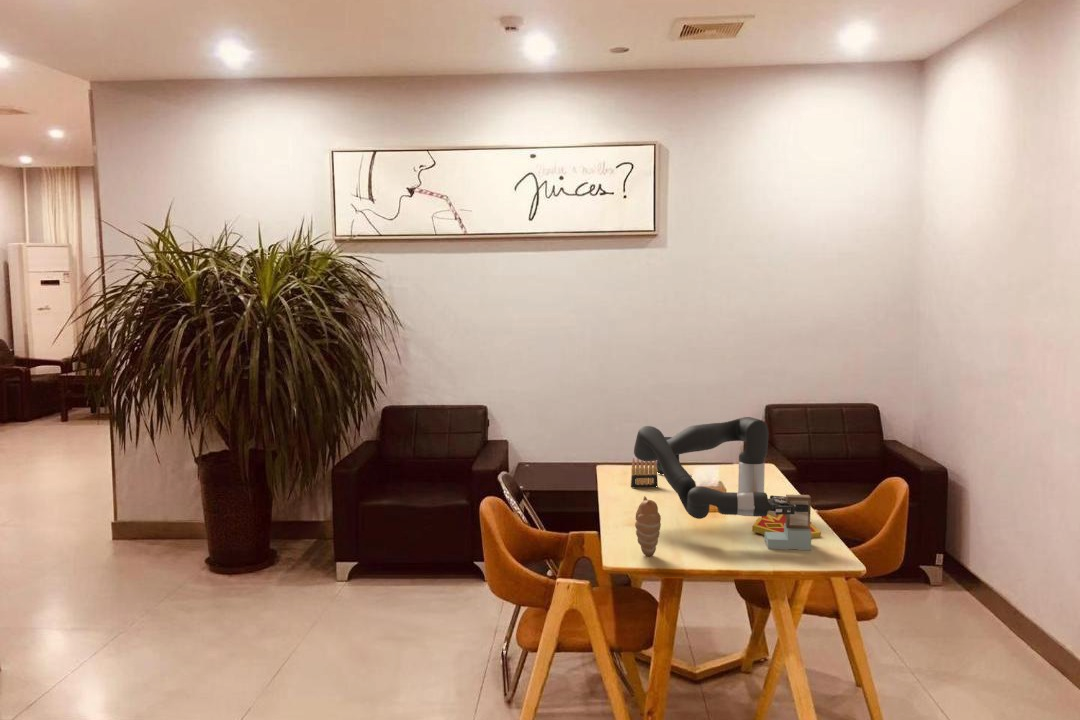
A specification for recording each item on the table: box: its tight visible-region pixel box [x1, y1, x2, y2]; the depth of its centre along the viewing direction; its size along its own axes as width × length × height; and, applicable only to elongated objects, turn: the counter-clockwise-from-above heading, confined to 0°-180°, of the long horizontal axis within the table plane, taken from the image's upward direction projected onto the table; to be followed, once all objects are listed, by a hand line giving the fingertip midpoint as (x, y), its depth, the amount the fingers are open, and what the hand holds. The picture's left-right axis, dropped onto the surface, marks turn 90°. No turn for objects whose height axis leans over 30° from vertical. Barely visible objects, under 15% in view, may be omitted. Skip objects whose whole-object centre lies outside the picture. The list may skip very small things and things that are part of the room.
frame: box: [785, 494, 812, 529], centre depth 269 cm, size 3×7×10 cm, turn 83°
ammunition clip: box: [630, 458, 659, 488], centre depth 345 cm, size 11×2×12 cm, turn 93°
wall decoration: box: [751, 514, 822, 539], centre depth 290 cm, size 22×31×4 cm
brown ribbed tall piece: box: [634, 495, 662, 557], centre depth 260 cm, size 9×8×18 cm
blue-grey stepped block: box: [764, 523, 812, 551], centre depth 270 cm, size 8×13×6 cm, turn 83°
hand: (806, 505), depth 268 cm, fingers open, 5 cm apart
